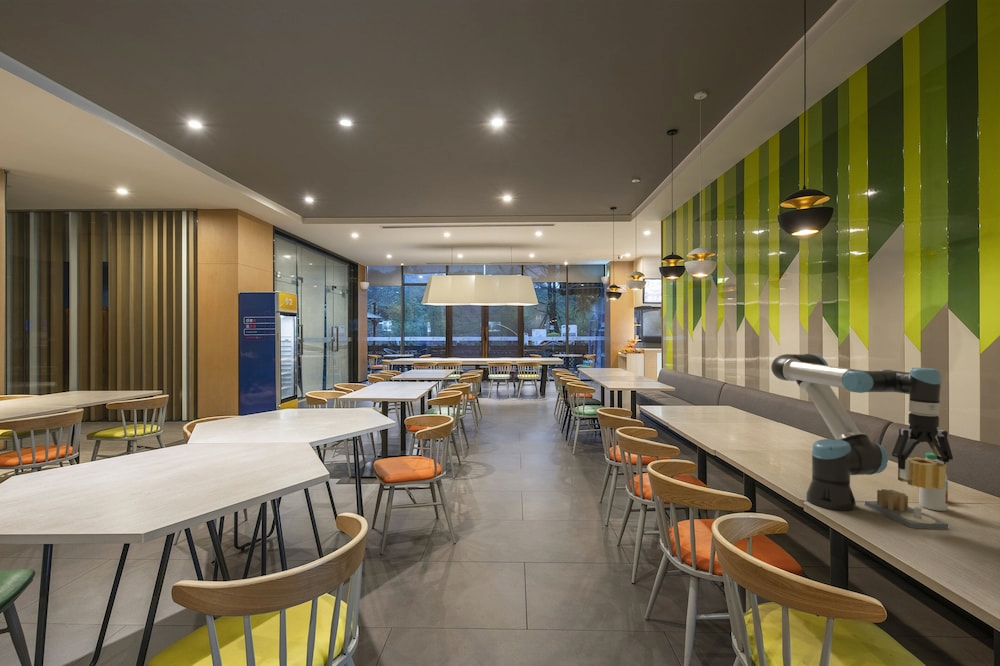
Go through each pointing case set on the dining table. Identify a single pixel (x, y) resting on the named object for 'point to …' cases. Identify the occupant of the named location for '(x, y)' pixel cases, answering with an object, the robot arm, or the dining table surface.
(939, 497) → the milk bottle
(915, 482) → the gear
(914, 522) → the gear board
